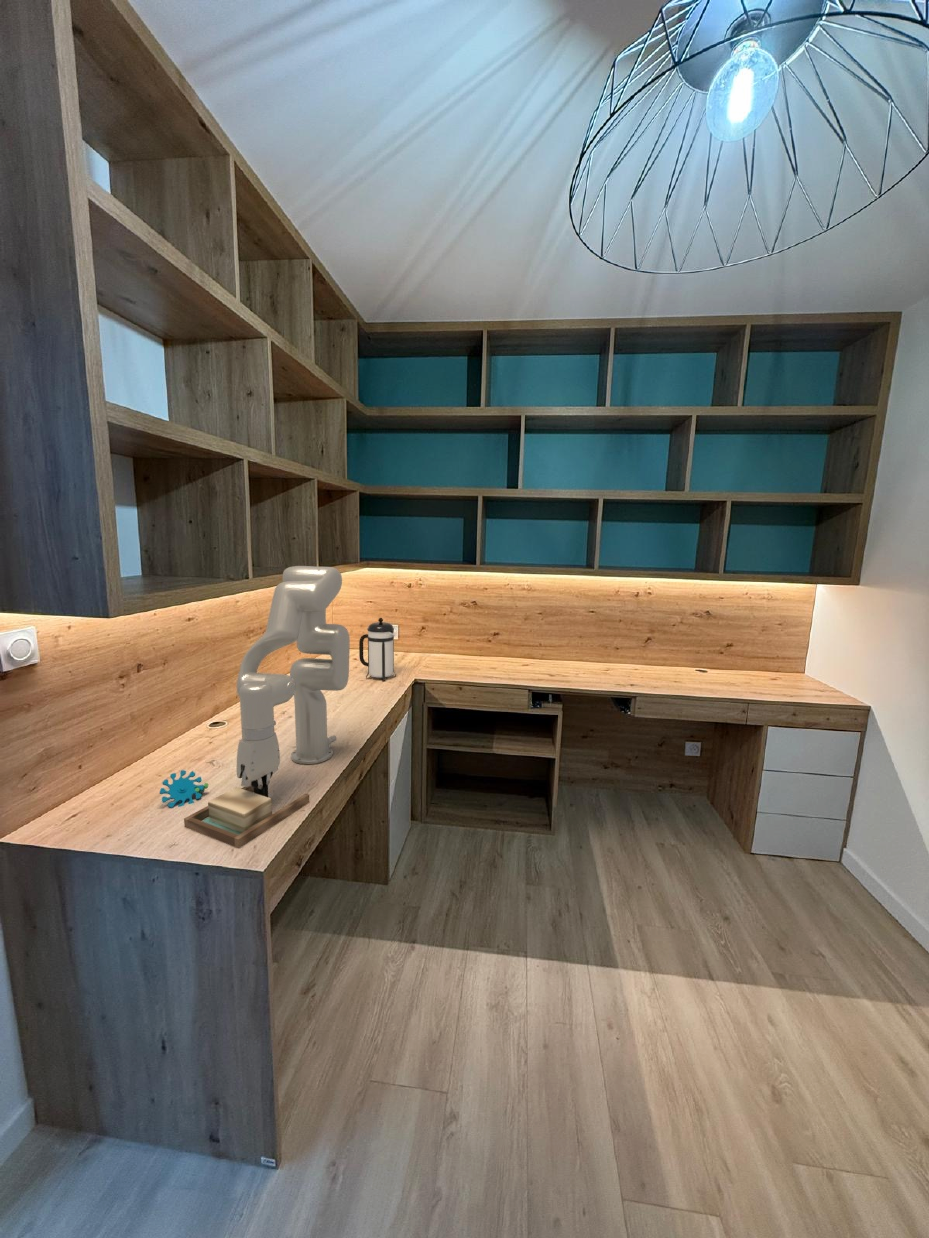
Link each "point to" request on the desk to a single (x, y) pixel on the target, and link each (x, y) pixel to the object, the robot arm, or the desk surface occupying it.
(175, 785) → the blue spiky virus toy
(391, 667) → the coffee press
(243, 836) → the bay
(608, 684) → the desk surface
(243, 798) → the cream hardcover book
